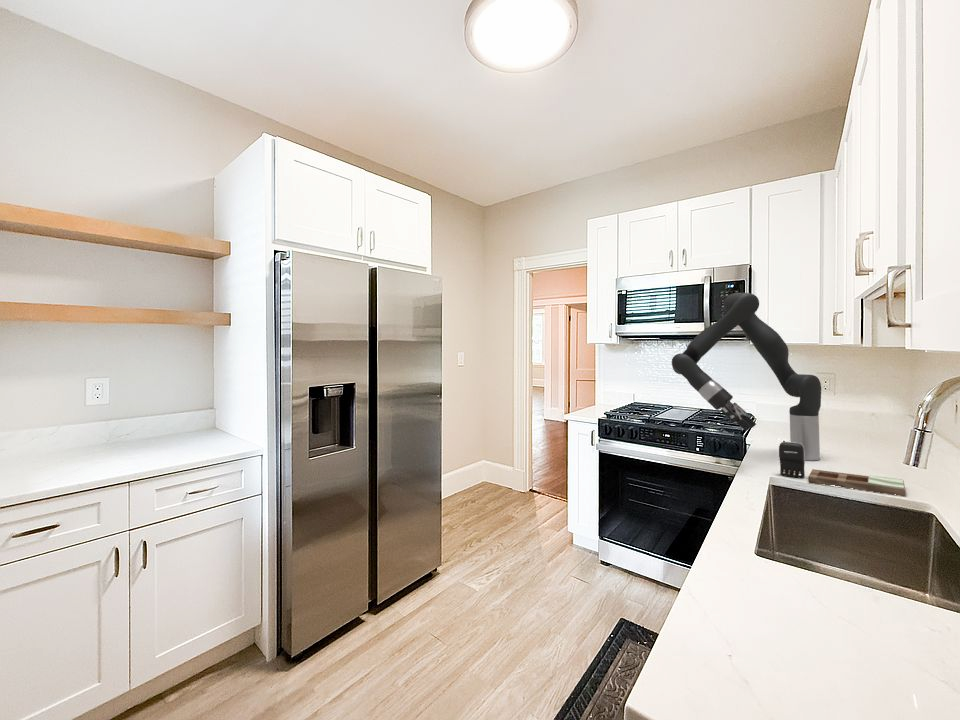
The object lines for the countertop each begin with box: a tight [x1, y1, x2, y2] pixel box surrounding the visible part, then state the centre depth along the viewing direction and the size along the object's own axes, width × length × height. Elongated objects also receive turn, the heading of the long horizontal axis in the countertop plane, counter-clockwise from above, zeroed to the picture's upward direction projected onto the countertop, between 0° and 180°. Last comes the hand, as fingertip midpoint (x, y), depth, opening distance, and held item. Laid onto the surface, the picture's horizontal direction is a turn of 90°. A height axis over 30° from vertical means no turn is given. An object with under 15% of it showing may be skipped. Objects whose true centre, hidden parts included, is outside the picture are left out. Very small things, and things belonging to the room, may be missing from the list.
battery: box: [778, 441, 806, 479], centre depth 144 cm, size 7×4×11 cm, turn 47°
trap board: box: [807, 468, 906, 497], centre depth 133 cm, size 12×22×2 cm, turn 47°
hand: (751, 427), depth 152 cm, fingers open, 8 cm apart
